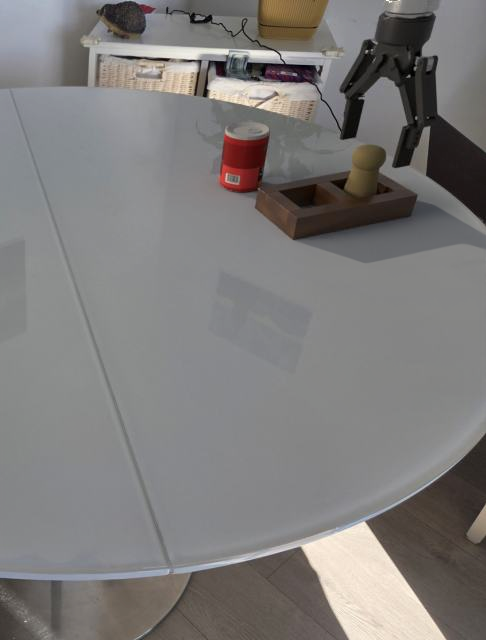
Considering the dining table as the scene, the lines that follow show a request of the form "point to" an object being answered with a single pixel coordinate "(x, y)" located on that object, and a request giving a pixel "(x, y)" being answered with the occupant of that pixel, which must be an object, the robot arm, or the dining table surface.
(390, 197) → the caddy
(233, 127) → the canned food
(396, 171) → the dining table surface
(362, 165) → the tan pawn
